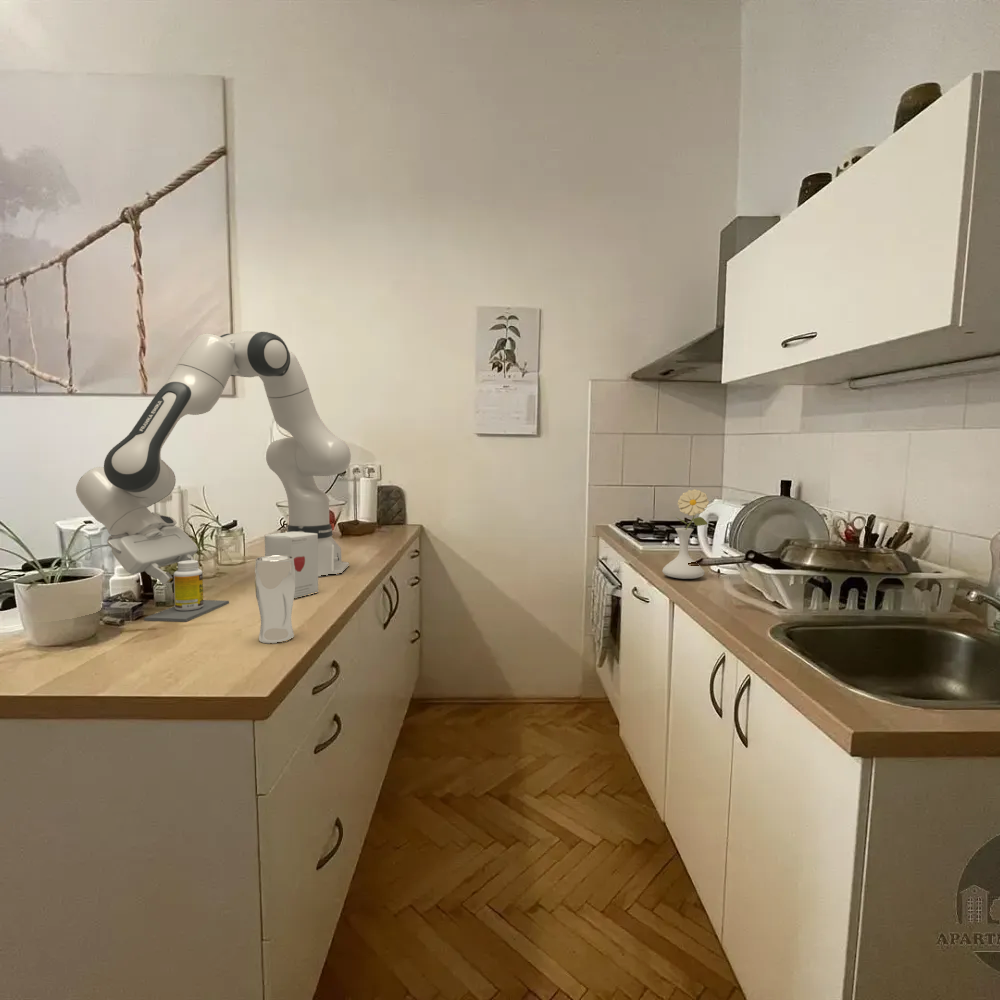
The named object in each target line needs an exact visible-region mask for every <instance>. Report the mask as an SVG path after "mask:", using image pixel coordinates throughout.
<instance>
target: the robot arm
mask: <svg viewBox="0 0 1000 1000" xmlns="http://www.w3.org/2000/svg"><path fill="white" fill-rule="evenodd" d="M305 375H306V374H305V373H304V371H303V368H302V366H301V363H300V362H299V361H298V358H297V356H296V355H295V353H293V352H292V351H290V350H289V348H288V346H287V344H286V342H285V341H284V340H283V339H282V338H281V337H280V335H277V334H275V333H272V332H268V331H249V330H247V331H241V332H236V333H224V334H221V335H216V334H212V333H201V334H200V335H198V336H197V337H196V338H195V339H194V340H193V341H192V342H191V343H190V344H189V345H188V347H187V348H186V350H185V351H184V352H183V354H182V355H181V357H180V358H179V360H178V362H177V363H176V365H175V367H174V369H173V371H172V372H171V374H170V375H169V376H170V377H168V380H166V382H165V384H164V385H163V386H162V387H161V388H160V389H159V390H158V392H157V393H156V394H155V396H153V398H152V399H151V401H150V402H149V404H148V406H147V407H146V409H145V410H144V411H143V413H142V415H141V416H140V417H139V419H138V421H137V422H136V424H135V426H133V428H132V430H131V431H130V432H129V433H128V434H127V436H126V437H124V438H123V439H122V440H121V441H119V442H118V443H117V444H116V445H114V446H113V447H112V449H110V450H109V451H108V453H107V454H106V456H105V458H104V462H103V466H97V467H94V468H90V470H88V471H86V472H85V473H84V474H83V475H82V476H81V477H80V478H79V479H78V482H77V484H76V488H75V493H76V496H77V498H78V499H79V501H80V503H81V504H82V505H83V507H84V508H85V509H86V510H87V511H88V513H89V514H90V515H91V516H92V517H93V519H95V520H96V521H97V522H99V523H100V524H102V525H103V526H104V527H105V528H106V530H107V532H108V534H109V536H108V538H107V540H106V542H107V543H106V544H107V546H109V548H110V549H111V553H112V555H113V556H114V558H115V559H116V560H117V562H118V563H119V564H120V566H121V567H122V568H123V569H124V570H125V571H126V572H127V573H128V574H129V573H130V574H132V575H136V574H140V573H143V572H145V573H146V574H147V575H149V576H150V577H152V578H155V579H156V580H159V582H160V583H161V584H162V585H165V584H168V583H170V582H171V581H172V580H174V576H172V574H170V572H168V571H167V572H166V571H164V570H163V569H161V568H163V567H166V566H170V565H173V564H176V563H177V564H178V562H180V561H186V560H195V559H194V557H193V556H194V555H195V554H196V553H197V552H198V546H197V544H196V543H195V542H194V540H193V539H192V538H191V537H190V536H189V535H188V534H187V533H186V532H185V531H184V530H183V529H182V528H181V527H179V526H177V521H176V520H175V519H174V518H173V517H171V516H168V515H162V514H158V513H156V512H151V511H150V509H148V508H149V507H151V506H154V505H155V504H156V503H158V502H160V501H162V500H163V499H166V498H167V497H168V496H169V495H170V494H171V493H172V492H173V490H174V489H175V487H176V482H177V481H176V475H175V472H174V471H173V469H172V468H171V467H170V466H169V465H168V464H167V463H166V462H165V461H164V460H162V457H161V452H162V448H163V446H164V444H165V443H166V442H167V440H168V438H169V437H170V435H171V433H172V432H173V430H174V429H175V427H176V425H177V423H178V422H179V421H180V419H183V417H184V416H188V415H192V416H197V415H198V416H199V415H204V414H207V413H208V412H210V411H211V410H212V409H213V408H214V406H215V405H216V404H217V403H218V401H219V399H220V398H221V397H222V393H223V392H224V390H225V388H226V386H227V383H228V381H229V379H230V377H241V378H254V377H255V378H256V377H258V378H260V380H261V381H262V385H263V386H264V387H263V388H264V391H265V394H266V397H267V398H266V399H267V400H268V403H269V406H270V410H271V413H272V416H273V418H274V419H273V420H274V421H275V423H276V424H277V426H278V427H280V428H281V429H283V430H285V431H286V432H288V433H289V434H290V435H291V436H292V437H284V438H280V439H277V440H273V441H272V442H270V444H269V445H268V447H267V449H266V452H265V453H266V454H265V459H266V463H267V466H268V468H269V469H270V470H271V471H272V472H273V473H275V475H277V477H278V478H279V480H280V481H281V483H282V485H283V488H284V491H285V494H286V497H287V506H288V525H287V529H286V532H293V531H294V532H305V533H317V534H318V577H322V576H321V575H326V576H329V575H328V574H336V575H338V574H337V573H342V572H343V571H344V570H345V569H346V568H347V567H348V565H349V566H350V563H349V562H347V561H342V548H341V546H340V545H339V544H338V543H337V542H336V540H335V539H334V538H333V531H334V530H335V523H330V498H329V496H328V494H327V493H326V492H324V490H321V489H320V488H319V487H318V485H317V484H316V481H315V477H331V476H336V475H339V474H342V473H344V472H346V471H347V469H348V468H349V466H350V463H351V460H352V459H351V457H352V454H351V450H350V448H349V446H348V444H347V442H346V441H344V440H343V439H341V438H340V437H338V436H337V435H335V434H334V433H333V432H332V431H331V430H329V428H328V426H326V424H325V423H324V422H323V420H322V419H321V418H320V415H319V413H318V411H317V409H316V405H315V403H314V399H313V398H312V393H311V391H310V388H309V384H308V381H307V379H306V376H305ZM348 568H349V567H348ZM348 568H347V569H348ZM198 569H200V568H199V567H198ZM347 569H346V570H347ZM346 570H345V571H346ZM345 571H344V572H345ZM344 572H343V573H344ZM343 573H342V574H343Z"/></svg>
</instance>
